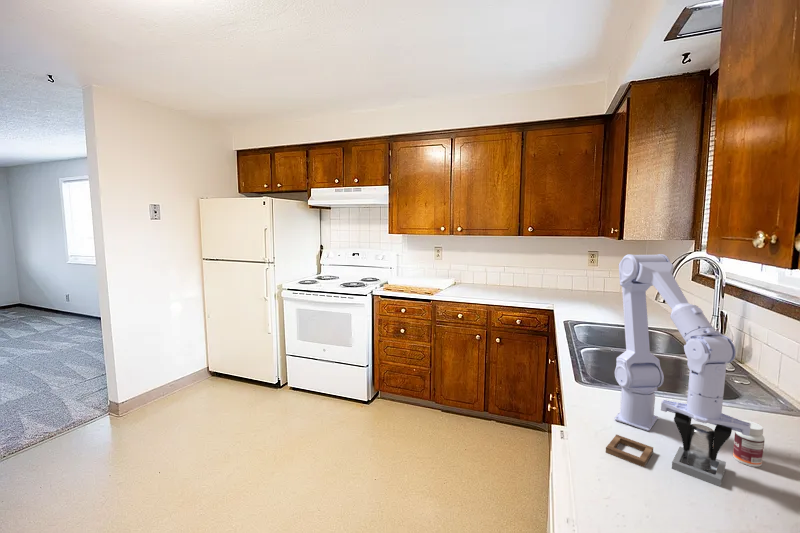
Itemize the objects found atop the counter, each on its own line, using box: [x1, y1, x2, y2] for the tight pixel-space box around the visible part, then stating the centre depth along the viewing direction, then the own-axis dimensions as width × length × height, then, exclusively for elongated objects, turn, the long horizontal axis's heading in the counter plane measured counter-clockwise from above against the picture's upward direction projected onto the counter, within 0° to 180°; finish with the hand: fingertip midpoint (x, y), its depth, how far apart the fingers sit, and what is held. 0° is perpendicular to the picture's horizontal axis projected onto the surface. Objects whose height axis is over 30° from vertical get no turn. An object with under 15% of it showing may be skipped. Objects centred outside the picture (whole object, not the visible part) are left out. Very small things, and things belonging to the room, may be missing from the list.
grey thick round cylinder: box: [686, 423, 715, 471], centre depth 80 cm, size 4×4×8 cm
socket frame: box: [605, 434, 654, 468], centre depth 87 cm, size 8×8×1 cm
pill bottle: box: [732, 419, 765, 468], centre depth 83 cm, size 5×5×8 cm
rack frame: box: [671, 446, 727, 487], centre depth 81 cm, size 8×8×2 cm
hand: (699, 453), depth 81 cm, fingers closed on grey thick round cylinder, 4 cm apart
